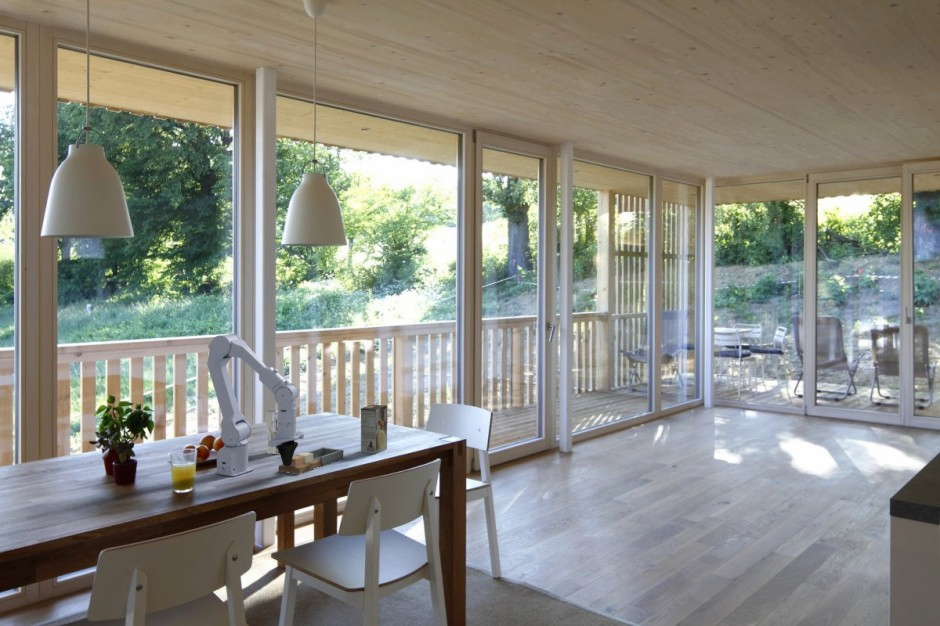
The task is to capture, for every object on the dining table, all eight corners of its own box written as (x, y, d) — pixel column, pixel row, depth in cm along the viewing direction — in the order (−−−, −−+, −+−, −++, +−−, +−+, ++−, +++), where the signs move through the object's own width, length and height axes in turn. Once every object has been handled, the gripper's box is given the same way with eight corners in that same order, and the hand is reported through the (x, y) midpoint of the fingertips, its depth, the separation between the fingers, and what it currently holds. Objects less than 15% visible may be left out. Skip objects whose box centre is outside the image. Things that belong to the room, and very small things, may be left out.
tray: (322, 466, 243) (322, 457, 243) (300, 463, 247) (300, 454, 247) (343, 458, 254) (343, 450, 254) (322, 455, 258) (322, 447, 258)
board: (298, 474, 233) (298, 468, 233) (278, 471, 236) (278, 465, 236) (321, 466, 243) (321, 460, 243) (302, 463, 247) (302, 457, 247)
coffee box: (371, 447, 272) (371, 404, 271) (387, 448, 270) (387, 405, 269) (360, 452, 263) (360, 408, 263) (376, 454, 261) (376, 409, 260)
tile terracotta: (295, 467, 234) (295, 459, 234) (285, 465, 236) (285, 458, 236) (303, 464, 238) (303, 456, 238) (293, 462, 240) (293, 455, 240)
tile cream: (305, 463, 239) (305, 456, 239) (295, 462, 241) (295, 454, 240) (313, 461, 242) (313, 453, 242) (303, 459, 244) (303, 452, 244)
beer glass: (280, 455, 258) (280, 413, 257) (262, 454, 259) (262, 412, 258) (289, 451, 265) (289, 409, 264) (271, 450, 266) (271, 408, 265)
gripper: (281, 427, 225) (281, 471, 225) (311, 420, 238) (311, 461, 238) (263, 425, 228) (263, 469, 228) (294, 418, 241) (294, 459, 241)
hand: (286, 465), depth 233 cm, fingers closed
